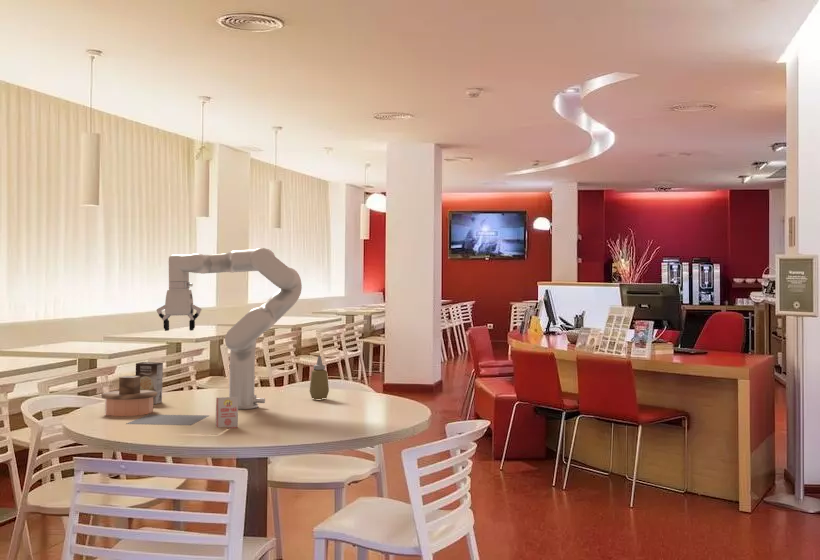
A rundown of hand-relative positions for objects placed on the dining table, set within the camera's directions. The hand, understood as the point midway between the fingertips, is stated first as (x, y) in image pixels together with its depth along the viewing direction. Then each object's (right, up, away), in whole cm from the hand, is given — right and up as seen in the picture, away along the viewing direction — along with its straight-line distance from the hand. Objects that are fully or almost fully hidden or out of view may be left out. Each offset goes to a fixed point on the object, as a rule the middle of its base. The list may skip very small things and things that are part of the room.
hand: (179, 330), depth 299 cm
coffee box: (-15, -30, +10) cm, 35 cm away
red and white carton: (+29, -29, -45) cm, 61 cm away
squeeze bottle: (+52, -31, +23) cm, 64 cm away
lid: (-13, -23, -18) cm, 32 cm away
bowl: (-13, -29, -18) cm, 37 cm away
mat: (+7, -29, -33) cm, 45 cm away
